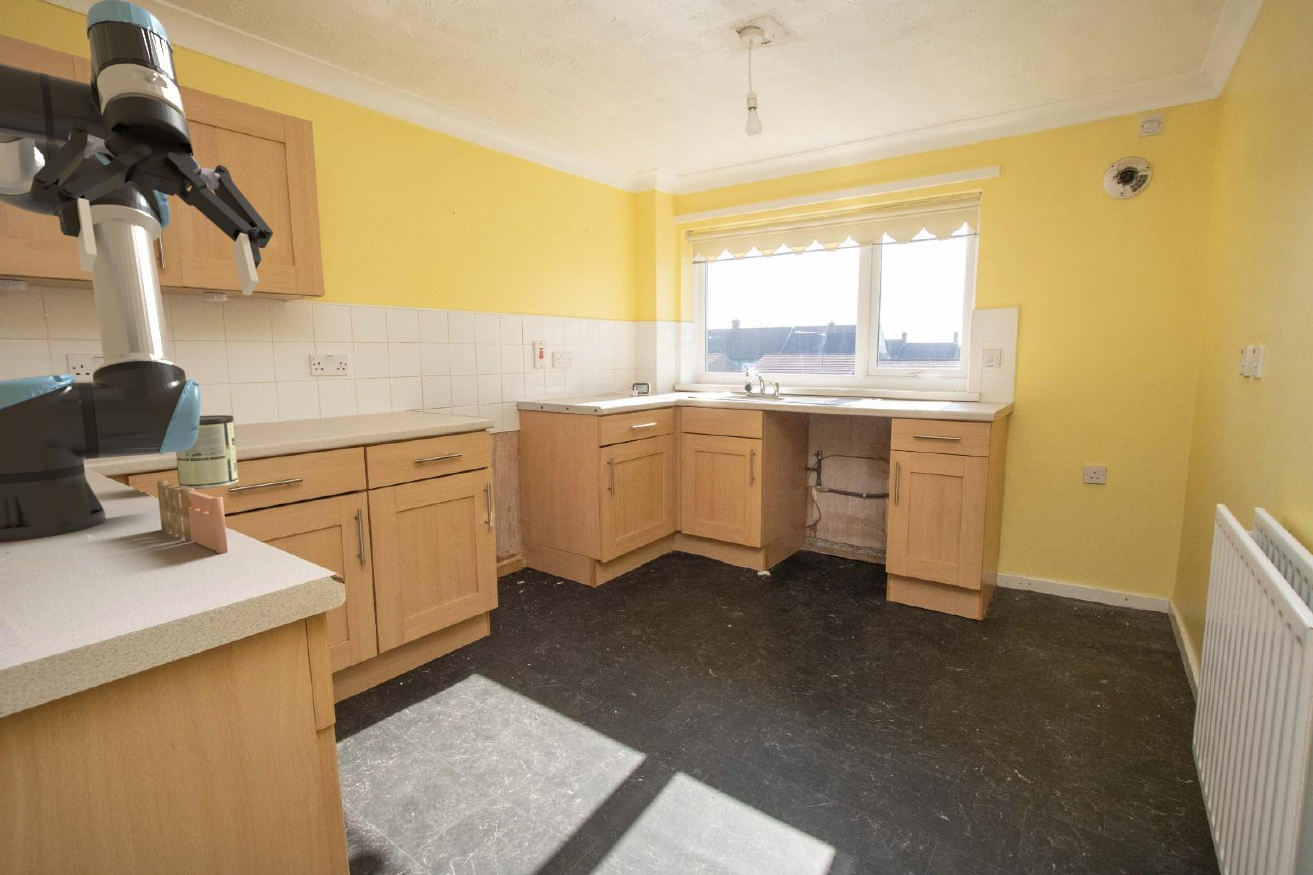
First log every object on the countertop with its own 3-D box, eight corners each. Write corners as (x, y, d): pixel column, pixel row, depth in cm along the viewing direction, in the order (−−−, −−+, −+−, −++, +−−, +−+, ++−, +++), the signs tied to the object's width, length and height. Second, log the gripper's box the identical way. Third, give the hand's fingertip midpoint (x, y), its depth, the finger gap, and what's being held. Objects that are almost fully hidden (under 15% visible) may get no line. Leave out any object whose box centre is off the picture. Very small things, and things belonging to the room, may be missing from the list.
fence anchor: (159, 532, 91) (153, 481, 90) (172, 529, 92) (167, 480, 91) (187, 544, 84) (182, 490, 83) (201, 542, 86) (196, 488, 85)
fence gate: (190, 542, 84) (185, 490, 83) (200, 540, 85) (196, 489, 84) (218, 554, 79) (213, 499, 78) (229, 551, 80) (224, 497, 79)
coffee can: (171, 485, 129) (165, 417, 127) (229, 478, 137) (223, 414, 135) (186, 491, 123) (179, 420, 121) (246, 483, 130) (240, 416, 129)
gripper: (-13, 39, 58) (7, 221, 52) (279, 138, 78) (317, 277, 72) (-21, 100, 62) (-4, 274, 56) (258, 179, 82) (292, 314, 76)
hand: (176, 276), depth 64 cm, fingers open, 13 cm apart
